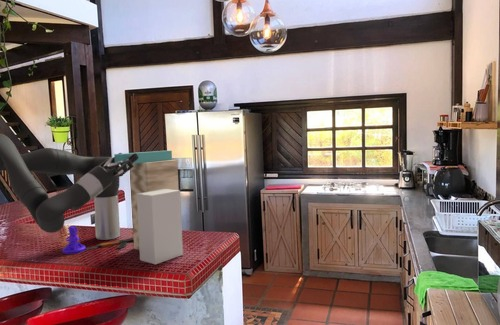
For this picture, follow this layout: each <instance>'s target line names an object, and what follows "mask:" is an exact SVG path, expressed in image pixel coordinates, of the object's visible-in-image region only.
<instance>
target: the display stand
mask: <svg viewBox="0 0 500 325" xmlns="http://www.w3.org/2000/svg"><path fill="white" fill-rule="evenodd" d="M133 166H134V167H133V168H131V169H130V170H129V175H130V178H129V179H130V194H131V195H130V196H131V198H130V199H131V213H132V214H131V216H132V235H133V237H132V238H134V242H133V249H134V250H138V251H139V231H138V212H137V194H138V193H144V192H150V191H155V190H161V189H171V190H180V189H179V169H178V168H179V165H178V159H172V160H166V161H155V162H145V163H135V164H133Z"/></svg>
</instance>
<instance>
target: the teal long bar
mask: <svg viewBox="0 0 500 325" xmlns="http://www.w3.org/2000/svg"><path fill="white" fill-rule="evenodd" d="M134 153H136V154H137V156H138V159H137V160H136V161H135V162H133V163H132V164H135V163H145V162H155V161H166V160H173V153H172V150H155V151H140V152H126V153H122V154H119V153H114V156H113V157H114V158H115V163H116V162H118V161H124V160H126V159H127V158H129V157H130V156H131V155H132V154H134ZM123 164H124V163H123ZM119 166H121V165H120V164H119Z"/></svg>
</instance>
